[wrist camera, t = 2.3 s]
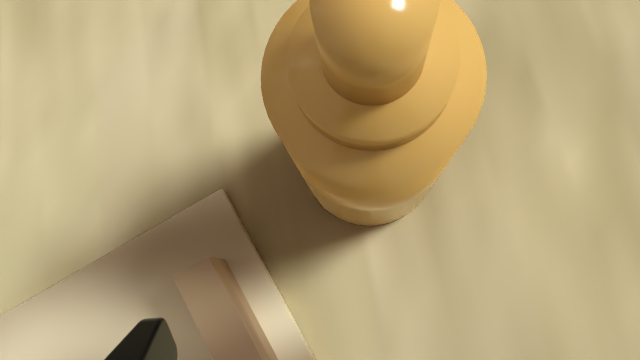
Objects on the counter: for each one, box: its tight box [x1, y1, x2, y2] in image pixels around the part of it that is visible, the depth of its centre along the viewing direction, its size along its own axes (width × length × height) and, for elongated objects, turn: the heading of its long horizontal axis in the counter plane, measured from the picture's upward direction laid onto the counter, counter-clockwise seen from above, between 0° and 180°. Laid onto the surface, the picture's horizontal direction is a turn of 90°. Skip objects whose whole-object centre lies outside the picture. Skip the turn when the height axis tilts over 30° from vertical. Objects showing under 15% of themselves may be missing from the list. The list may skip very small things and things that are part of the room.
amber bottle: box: [261, 0, 487, 226], centre depth 16 cm, size 6×6×13 cm
